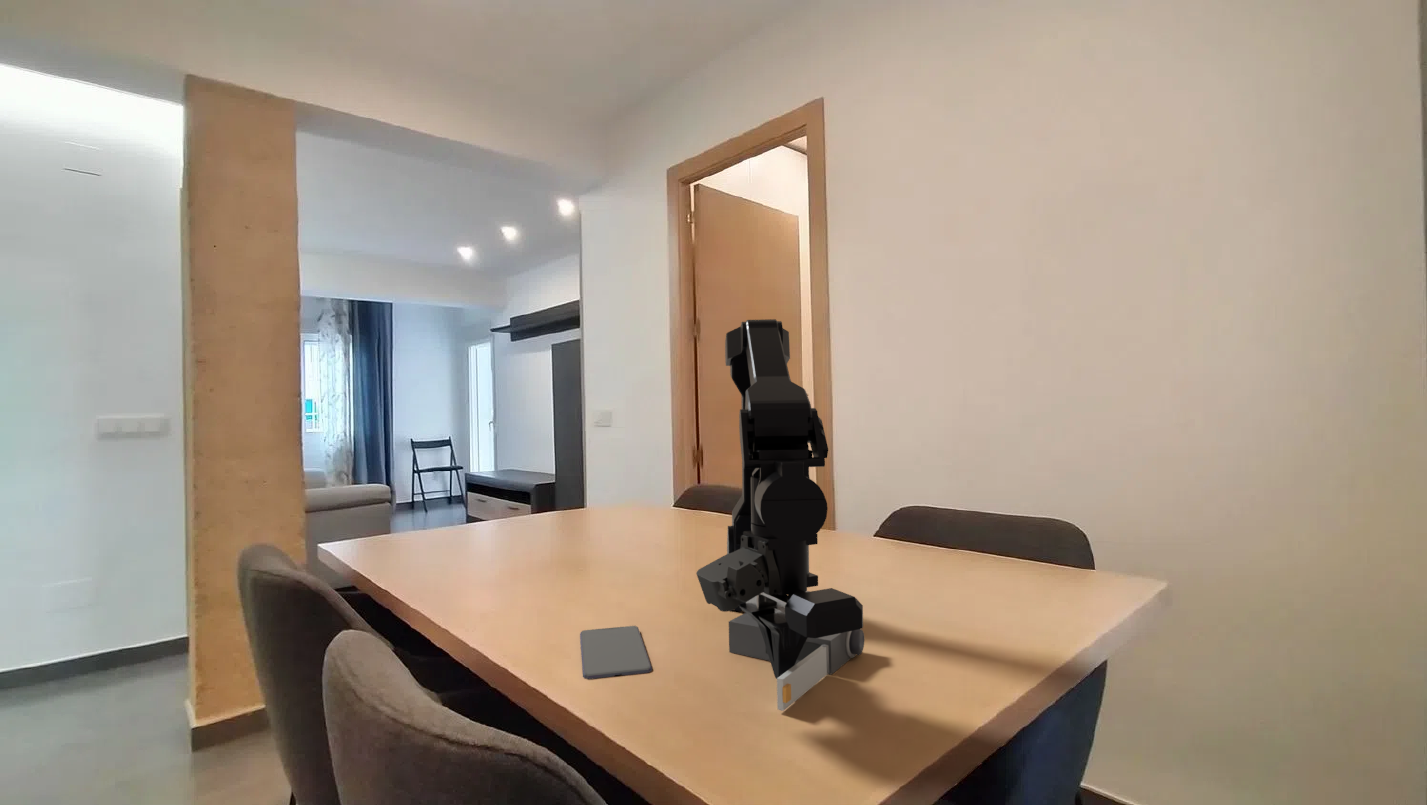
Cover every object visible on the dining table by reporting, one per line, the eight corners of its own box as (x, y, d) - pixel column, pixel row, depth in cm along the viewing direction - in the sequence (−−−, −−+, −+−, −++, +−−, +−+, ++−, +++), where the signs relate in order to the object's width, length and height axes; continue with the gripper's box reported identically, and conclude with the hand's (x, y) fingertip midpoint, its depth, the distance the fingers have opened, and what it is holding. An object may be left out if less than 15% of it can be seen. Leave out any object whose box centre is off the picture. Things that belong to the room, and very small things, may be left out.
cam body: (728, 652, 76) (728, 617, 76) (762, 632, 83) (761, 600, 83) (840, 676, 69) (838, 637, 69) (867, 653, 75) (866, 617, 75)
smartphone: (582, 676, 69) (579, 629, 84) (582, 685, 69) (579, 637, 84) (653, 668, 71) (638, 624, 85) (653, 677, 71) (638, 631, 85)
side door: (786, 712, 60) (785, 680, 60) (776, 709, 61) (775, 678, 61) (832, 673, 69) (831, 645, 69) (823, 671, 69) (822, 644, 69)
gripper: (668, 516, 69) (670, 663, 69) (758, 547, 53) (761, 741, 52) (757, 508, 74) (759, 645, 74) (865, 534, 58) (868, 710, 57)
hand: (781, 679), depth 64 cm, fingers closed
